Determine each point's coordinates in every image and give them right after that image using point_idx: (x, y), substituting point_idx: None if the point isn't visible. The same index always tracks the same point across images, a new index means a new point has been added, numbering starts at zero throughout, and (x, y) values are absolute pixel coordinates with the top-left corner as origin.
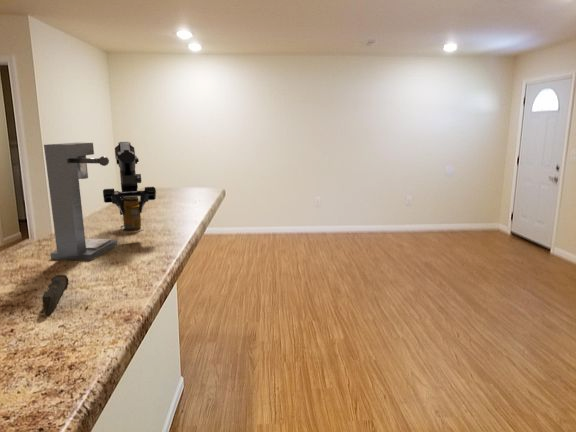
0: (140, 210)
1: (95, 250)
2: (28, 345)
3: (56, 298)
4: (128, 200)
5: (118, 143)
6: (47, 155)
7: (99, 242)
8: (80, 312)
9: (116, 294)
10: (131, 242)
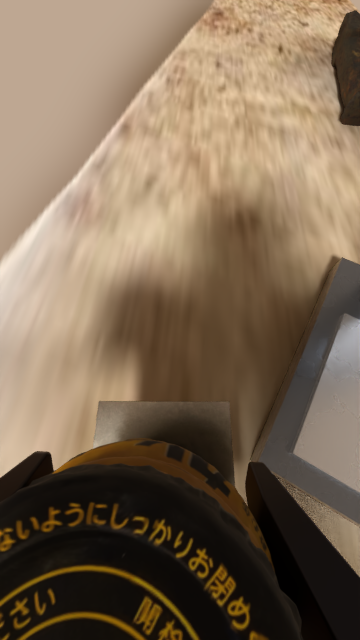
0: (36, 458)
1: (335, 302)
2: (331, 6)
3: (339, 47)
4: (181, 488)
5: None
6: None
7: (345, 402)
8: (287, 42)
9: (236, 70)
10: None
